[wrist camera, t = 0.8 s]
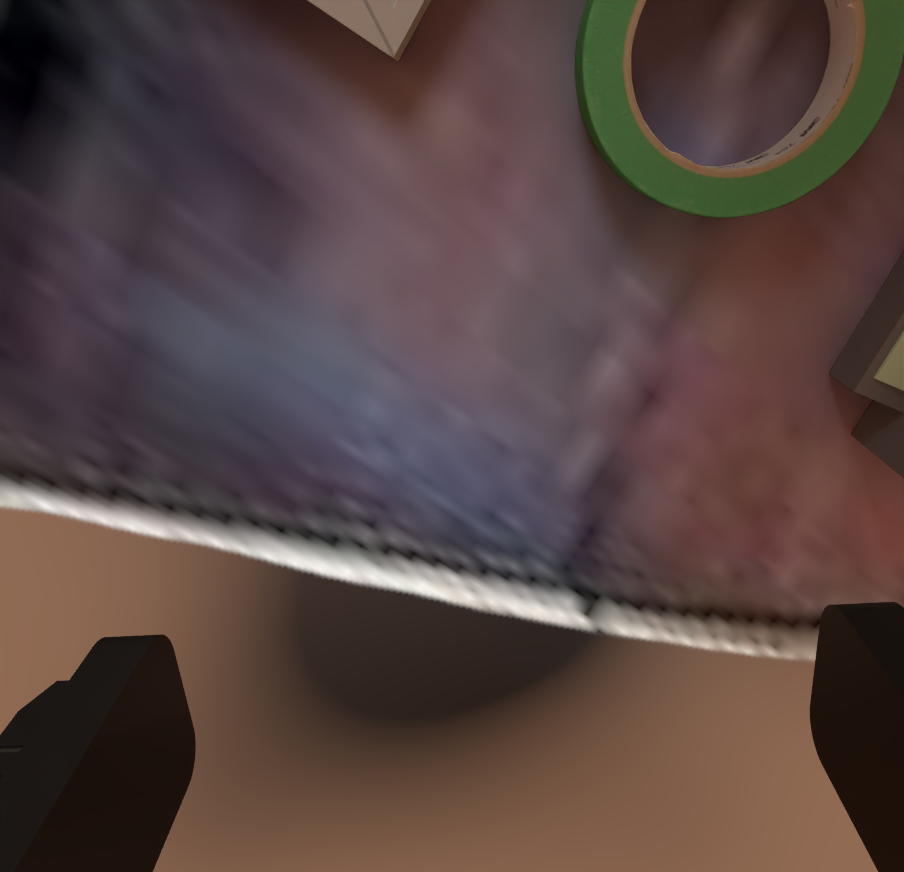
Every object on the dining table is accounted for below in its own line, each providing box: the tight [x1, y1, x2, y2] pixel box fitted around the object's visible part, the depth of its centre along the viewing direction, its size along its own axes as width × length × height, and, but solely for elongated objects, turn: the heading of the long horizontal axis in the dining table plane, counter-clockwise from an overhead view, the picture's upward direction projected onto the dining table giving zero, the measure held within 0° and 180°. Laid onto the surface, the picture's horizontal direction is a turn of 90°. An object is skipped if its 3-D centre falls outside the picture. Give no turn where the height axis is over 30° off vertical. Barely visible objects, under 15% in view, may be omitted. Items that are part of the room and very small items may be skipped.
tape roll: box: [575, 0, 904, 218], centre depth 29 cm, size 11×11×3 cm
